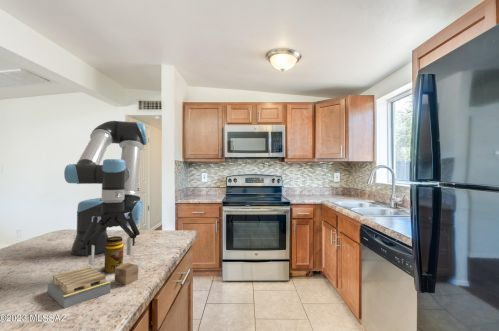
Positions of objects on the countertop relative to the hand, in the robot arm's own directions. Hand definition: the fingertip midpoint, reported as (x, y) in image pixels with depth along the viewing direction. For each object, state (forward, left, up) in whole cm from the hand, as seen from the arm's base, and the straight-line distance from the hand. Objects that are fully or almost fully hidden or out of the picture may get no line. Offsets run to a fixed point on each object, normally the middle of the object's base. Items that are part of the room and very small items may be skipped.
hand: (111, 259), depth 96 cm
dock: (+10, -14, -4) cm, 17 cm away
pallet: (+10, -14, -1) cm, 17 cm away
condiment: (0, 0, -4) cm, 4 cm away
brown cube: (+13, -1, -4) cm, 13 cm away
